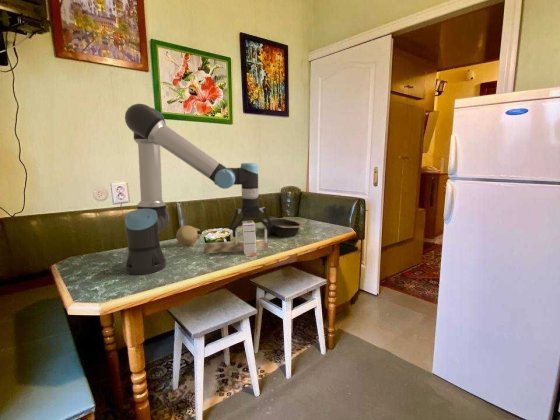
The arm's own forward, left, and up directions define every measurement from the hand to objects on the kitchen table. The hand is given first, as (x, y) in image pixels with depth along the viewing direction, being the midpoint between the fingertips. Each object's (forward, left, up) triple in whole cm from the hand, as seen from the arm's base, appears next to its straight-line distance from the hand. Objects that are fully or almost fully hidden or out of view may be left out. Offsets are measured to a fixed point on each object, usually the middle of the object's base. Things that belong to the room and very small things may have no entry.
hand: (251, 243), depth 141 cm
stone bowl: (+21, +30, -5) cm, 37 cm away
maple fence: (-7, 0, -4) cm, 8 cm away
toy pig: (-30, +17, -5) cm, 35 cm away
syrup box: (-1, 0, -5) cm, 5 cm away
